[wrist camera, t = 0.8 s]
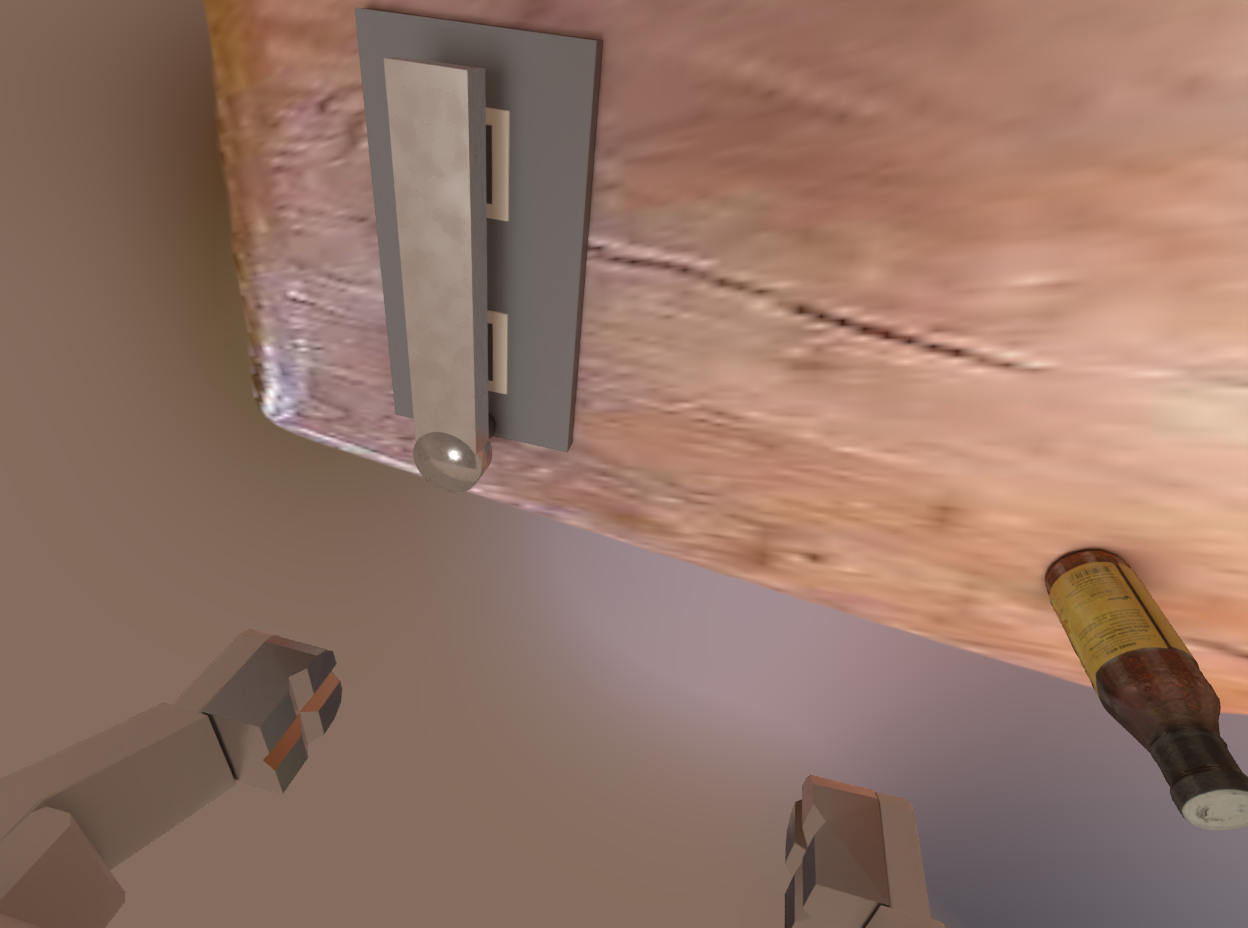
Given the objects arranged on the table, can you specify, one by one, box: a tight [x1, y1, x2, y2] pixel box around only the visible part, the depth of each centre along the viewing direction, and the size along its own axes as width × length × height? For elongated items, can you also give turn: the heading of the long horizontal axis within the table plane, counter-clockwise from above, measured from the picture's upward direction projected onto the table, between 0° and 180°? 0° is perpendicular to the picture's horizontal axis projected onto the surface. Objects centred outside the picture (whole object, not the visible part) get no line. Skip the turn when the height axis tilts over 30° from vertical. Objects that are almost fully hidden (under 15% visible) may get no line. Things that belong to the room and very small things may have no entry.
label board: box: [355, 8, 603, 452], centre depth 48 cm, size 30×16×5 cm, turn 173°
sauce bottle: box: [1046, 550, 1248, 830], centre depth 45 cm, size 7×6×20 cm
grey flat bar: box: [384, 57, 492, 492], centre depth 46 cm, size 30×6×2 cm, turn 173°
